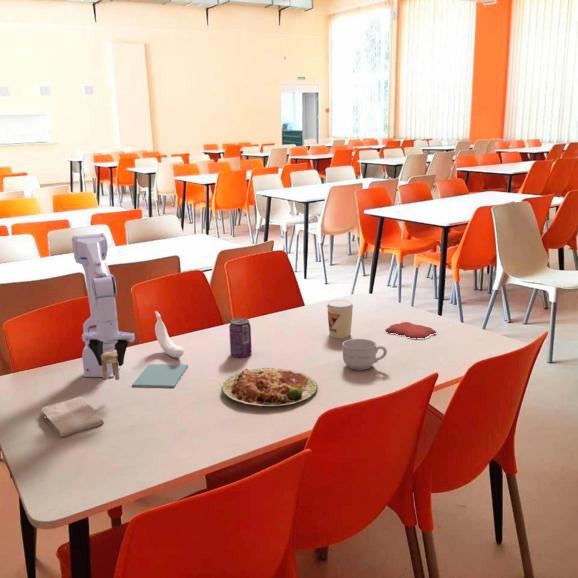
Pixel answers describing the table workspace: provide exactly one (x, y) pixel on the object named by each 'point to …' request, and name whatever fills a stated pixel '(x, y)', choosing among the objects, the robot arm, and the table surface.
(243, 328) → the beverage can
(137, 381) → the mat
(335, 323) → the coffee cup
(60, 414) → the washcloth
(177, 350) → the banana
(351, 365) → the teacup
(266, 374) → the rice dish
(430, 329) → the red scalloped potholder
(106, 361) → the tan piece
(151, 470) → the table surface
